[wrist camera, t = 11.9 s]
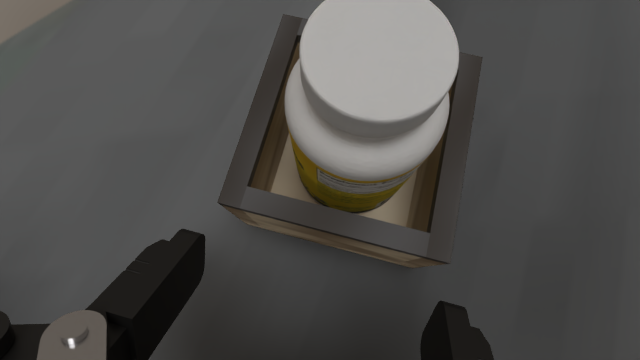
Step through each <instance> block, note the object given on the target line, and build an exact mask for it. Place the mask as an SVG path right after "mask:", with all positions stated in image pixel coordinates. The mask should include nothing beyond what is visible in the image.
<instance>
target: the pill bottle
mask: <svg viewBox="0 0 640 360" xmlns="http://www.w3.org/2000/svg"><path fill="white" fill-rule="evenodd" d="M458 63H459V49H458V43H457V38H456V36H455V33H454V31H453V28H452V26H451V24H450V23H449V21H448V19H447V18H446V17H445V16H444V14H443V13H442V12H441V10H440V9H439V8H437V7H436V6H435V5H434V4H433V3H432V2H431V1H429V0H325V1H324V2H323V3H321V4H320V5H319V7H318V8H317V9H316V10H315V11H314V12H313V13H312V15H311V16H310V18H309V19H308V21H307V23H306V25H305V27H304V29H303V32H302V35H301V40H300V47H299V59H298V61H297V62H296V64H295V65H294V67H293V69H292V71H291V73H290V76H289V79H288V82H287V85H286V90H285V116H286V122H287V126H288V130H289V134H290V138H291V143H292V148H293V152H294V157H295V161H296V165H297V170H298V173H299V177H300V180H301V182H302V184H303V186H304V188H305V189H306V191H307V192H308V194H309V195H310V196H311V197H312V198H313V199H314V200H315V201H316V202H317V203H319V204H320V205H322V206H326V207H330V208H334V209H338V210H342V211H345V212H349V213H353V214H362V213H366V212H370V211H372V210H375V209H377V208H378V207H380V206H382V205H383V204H385V203H386V202H387V201H388V200H389V199H390V198H391V197H392V196H393V195H394V194H395V193H396V192H397V191H398V190H399V189H400V188H401V187H402V186H403V184H404V183H405V182H406V181H407V180H408V179H409V178H410V177H411V175H412V174H413V173H414V172H415V171H416V170H417V169H418V168H419V166H420V165H421V164H422V163H423V162H424V161H425V160H426V159H427V157H428V156H429V155H430V154H431V153H432V151H433V150H434V148H435V147H436V145H437V144H438V142H439V141H440V139H441V137H442V135H443V133H444V130H445V127H446V124H447V120H448V115H449V93H448V91H449V90H450V88H451V86H452V84H453V82H454V80H455V77H456V74H457V70H458Z"/></svg>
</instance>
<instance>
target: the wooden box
mask: <svg viewBox="0 0 640 360" xmlns="http://www.w3.org/2000/svg"><path fill="white" fill-rule="evenodd" d="M307 21H308V19H304V18H299V17H294V16H290V15H285V14H283V16H282V19H281V22H280V25H279V28H278V31H277V34H276V36H275V39H274V42H273V45H272V48H271V51H270V54H269V56H268V59H267V62H266V65H265V68H264V71H263V74H262V76H261V79H260V82H259V85H258V88H257V91H256V94H255V96H254V99H253V102H252V105H251V108H250V111H249V114H248V116H247V119H246V122H245V125H244V128H243V131H242V134H241V136H240V139H239V142H238V145H237V148H236V151H235V154H234V156H233V159H232V162H231V165H230V168H229V171H228V174H227V176H226V179H225V182H224V185H223V188H222V191H221V194H220V196H219V199H218V202H217V203H219V204H220V205H222V206H223V207H224V208H226V209H227V210H228V211H230V212H231V213H232V214H234V215H235V216H236V217H238V218H239V219H241V220H242V221H243V222H245V223H246V224H248V225H252V226H256V227H259V228H263V229H267V230H271V231H274V232H278V233H282V234H286V235H290V236H293V237H297V238H301V239H305V240H308V241H312V242H316V243H320V244H323V245H327V246H331V247H335V248H339V249H342V250H346V251H350V252H354V253H357V254H361V255H365V256H369V257H373V258H376V259H380V260H384V261H388V262H391V263H395V264H399V265H403V266H407V267H410V268H417V267H425V266H433V265H442V264H450V263H451V256H452V250H453V243H454V237H455V230H456V224H457V218H458V211H459V205H460V198H461V192H462V185H463V179H464V173H465V166H466V160H467V153H468V147H469V140H470V134H471V128H472V121H473V115H474V108H475V102H476V95H477V89H478V82H479V76H480V70H481V63H482V57H479V56H475V55H470V54H466V53H461V52H459V63H458V70H457V74H456V77H455V80H454V82H453V84H452V86H451V88H450V90H449V91H448V93H449V115H448V120H447V124H446V127H445V130H444V133H443V135H442V137H441V139H440V141H439V142H438V144H437V145H436V147H435V148H434V150H433V151H432V153H431V154H430V155H429V156H428V157H427V159H426V160H425V161H424V162H423V163H422V164H421V165H420V166H419V168H418V169H417V170H416V171H415V172H414V173H413V174H412V175H411V177H410V178H409V179H408V180H407V181H406V182H405V183H404V184H403V186H402V187H401V188H400V189H399V190H398V191H397V192H396V193H395V194H394V195H393V196H392V197H391V198H390V199H389V200H388V201H387V202H386V203H385V204H383V205H382V206H380V207H378V208H377V209H375V210H372V211H370V212H366V213H362V214H353V213H349V212H345V211H342V210H338V209H334V208H330V207H326V206H322V205H320V204H319V203H317V202H316V201H315V200H314V199H313V198H312V197H311V196H310V195H309V194H308V192H307V191H306V189H305V188H304V186H303V184H302V182H301V180H300V177H299V173H298V170H297V165H296V161H295V157H294V152H293V148H292V143H291V138H290V134H289V130H288V126H287V122H286V116H285V90H286V85H287V82H288V79H289V76H290V73H291V71H292V69H293V67H294V65H295V64H296V62H297V61H298V59H299V47H300V40H301V35H302V32H303V29H304V27H305V25H306V23H307Z"/></svg>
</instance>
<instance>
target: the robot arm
mask: <svg viewBox="0 0 640 360" xmlns="http://www.w3.org/2000/svg"><path fill="white" fill-rule="evenodd" d="M204 266H205V236H204V234H200V233H197V232H193V231H189V230H186V229H181V230H179V231H178V232H177V233H176V235H175V236H174V237H173V238H172V239H171V240H170V241H166V240H163V239H162V240H160V241H158V242H156V243H154V244H152V245H150V246H148V247H147V248H146V249H145V250H144V251H143V252H142V253H141V254H140V255H139V256H138V257H137V258H136V259H135V261H133V262H132V263H131V264H130V265H129V266H128V267H127V268H126V270H125V271H123V272H122V273H121V274H120V275H119V276H118V277H117V278H116V279H115V280H114V281H113V282H112V283H111V284H110V285H109V286H108V287H107V288H106V289H105V290H104V291H103V293H102V294H101V295H100V296H99V297H98V298H97V299H96V300H95V301H94V302H93V303H92V304H91V305H90V306H89V307H88V308H86V309H85V310H81V311H75V312H72V313H69V314H66V315H64V316H62V317H60V318H59V319H57V320H55V321H54V322H53V323H52V324H23V325H11V323H10V320H9V318H8V316H7V315H6V314H5V313H3V312H1V311H0V360H148V359H149V357H150V356H151V354H152V353H153V351H154V350H155V348H156V347H157V346H158V344H159V343H160V341H161V340H162V338H163V337H164V335H165V334H166V332H167V331H168V329H169V328H170V326H171V325H172V323H173V322H174V320H175V319H176V317H177V316H178V314H179V313H180V311H181V310H182V308H183V307H184V305H185V304H186V302H187V301H188V300H189V298H190V297H191V295H192V294H193V292H194V291H195V289H196V288H197V286H198V285H199V283H200V281H201V278H202V276H203V272H204ZM420 349H421V360H494V359H493V355H492V351H491V348H490V345H489V343H488V342H487V340H486V339H485V337H484V335H483V334H482V332H481V331H480V329H478V328H475V327H471V326H470V323H469V319H468V314H467V311H466V309H465V307H462V306H459V305H455V304H451V303H448V302H444V301H439V302H438V304H437V305H436V307H435V309H434V311H433V313H432V315H431V317H430V319H429V321H428V323H427V325H426V327H425V329H424V331H423V334H422V338H421V348H420Z"/></svg>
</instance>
